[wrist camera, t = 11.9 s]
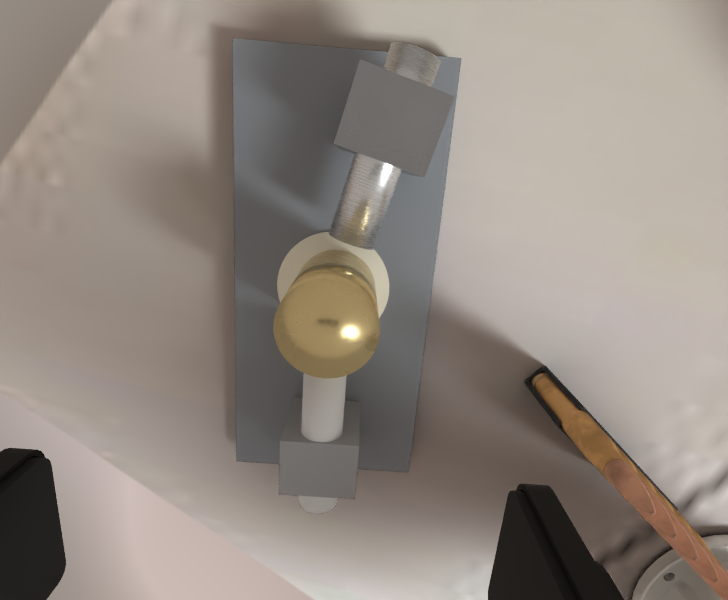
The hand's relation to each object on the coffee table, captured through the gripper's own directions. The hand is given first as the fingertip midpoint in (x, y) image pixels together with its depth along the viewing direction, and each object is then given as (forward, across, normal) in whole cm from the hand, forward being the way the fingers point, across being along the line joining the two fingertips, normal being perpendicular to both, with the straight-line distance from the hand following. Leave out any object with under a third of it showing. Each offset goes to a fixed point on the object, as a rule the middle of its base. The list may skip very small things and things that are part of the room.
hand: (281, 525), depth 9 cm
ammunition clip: (+20, -18, +9) cm, 28 cm away
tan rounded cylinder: (+18, 0, 0) cm, 18 cm away
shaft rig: (+20, 0, 0) cm, 20 cm away
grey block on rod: (+18, -2, -8) cm, 20 cm away
